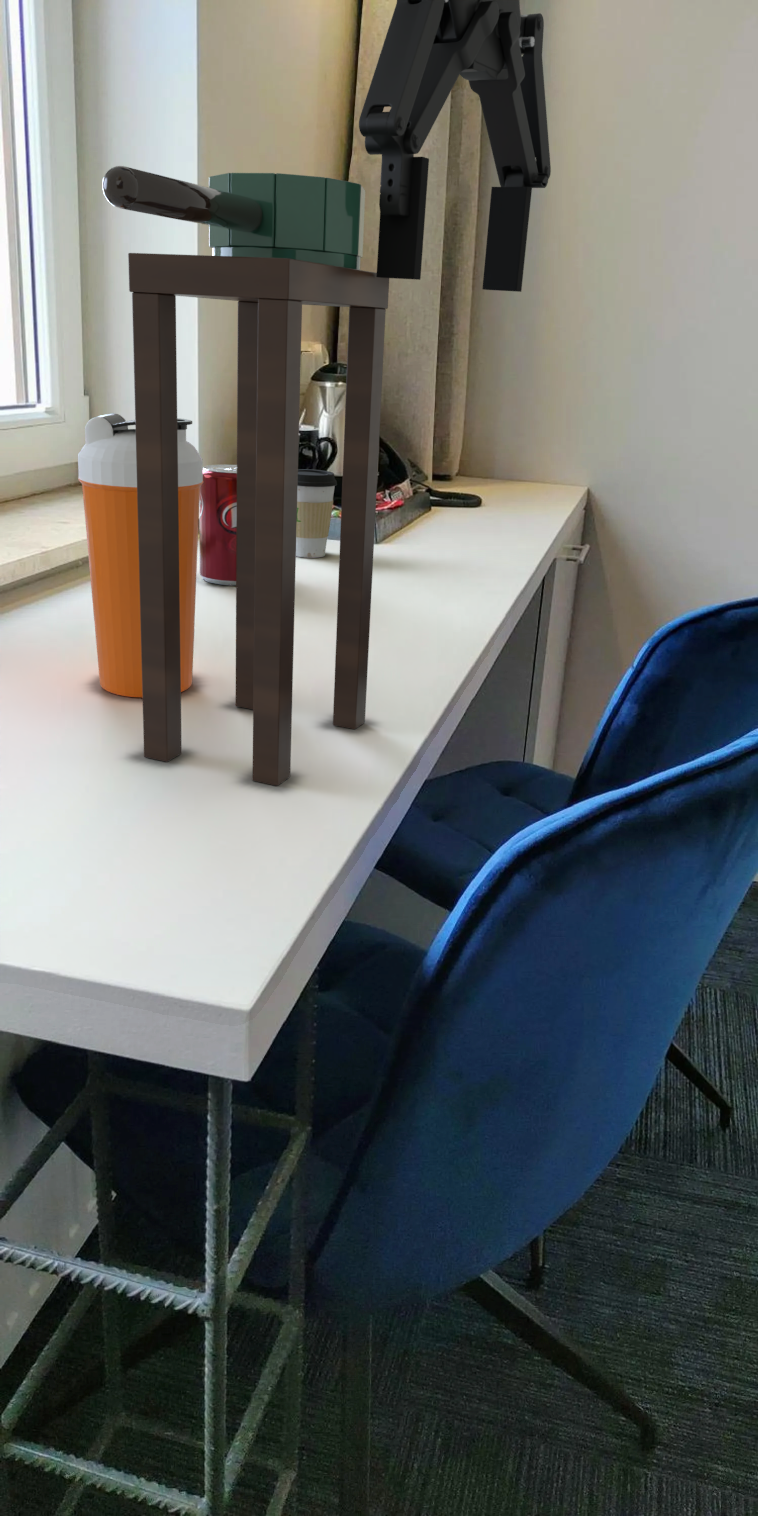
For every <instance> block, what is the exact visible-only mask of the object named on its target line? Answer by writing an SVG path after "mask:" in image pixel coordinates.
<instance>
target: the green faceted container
mask: <svg viewBox="0 0 758 1516" xmlns="http://www.w3.org/2000/svg"><path fill="white" fill-rule="evenodd" d="M102 192H103V195H104V197H105V198H106V200H107V202H109V204H111V205H112V206H113V207H116V208H118V209H121V210H126V211H131V212H137V213H143V214H146V215H147V214H148V215H152V216H158V217H163V218H169V219H172V220H173V219H174V220H178V221H184V222H189V223H195V224H200V225H205V226H208V231H209V232H208V238H209V239H208V246H209V249H212V251H211V256H235V257H264V258H290V259H296V260H302V261H308V262H314V263H320V264H326V265H332V266H338V267H345V268H351V269H357V270H361V265H362V264H361V261H362V258H364V257H363V255H364V254H363V253H364V235H365V234H364V233H365V232H364V231H365V212H366V211H365V208H366V189H365V188H364V187H363V184H361V183H358V182H354V181H353V182H352V181H347V180H342V179H337V178H332V177H325V176H315V175H303V174H291V173H279V172H276V173H275V172H227V173H221V174H215V175H210V176H209V177H208V186H205V185H201V184H197V183H192V182H188V181H185V180H181V179H177V178H172V177H169V176H165V175H160V174H157V173H153V172H148V171H145V170H141V169H137V168H133V167H129V166H124V165H116V166H113V167H111V168H109V169H108V170H107V171H106V172H105V174H104V176H103V178H102Z"/></svg>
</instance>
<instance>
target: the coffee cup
mask: <svg viewBox="0 0 758 1516" xmlns="http://www.w3.org/2000/svg"><path fill="white" fill-rule="evenodd" d="M335 477H336V476H335V473H334V472H332V471H329V470H323V469H322V470H321V469H309V468H308V469H306V468H305V469H303V468H298V487H297V527H296V558H297V557H298V558H305V559H315V558H322V557H325V555H326V551H327V550H326V549H327V541H328V537H329V533H330V527H331V522H332V521H331V520H332V513H333V508H334V507H333V506H334V493H335V486H337V485H338V481H337V480H336V478H335Z"/></svg>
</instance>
